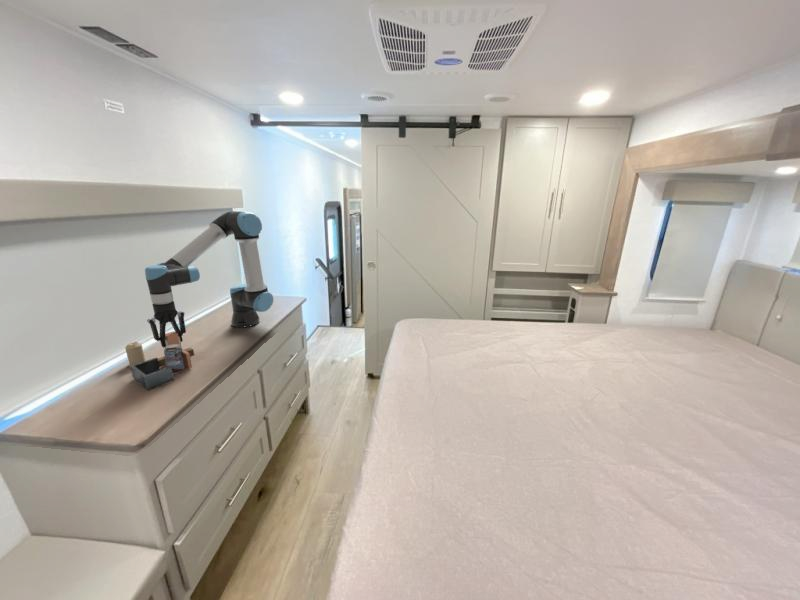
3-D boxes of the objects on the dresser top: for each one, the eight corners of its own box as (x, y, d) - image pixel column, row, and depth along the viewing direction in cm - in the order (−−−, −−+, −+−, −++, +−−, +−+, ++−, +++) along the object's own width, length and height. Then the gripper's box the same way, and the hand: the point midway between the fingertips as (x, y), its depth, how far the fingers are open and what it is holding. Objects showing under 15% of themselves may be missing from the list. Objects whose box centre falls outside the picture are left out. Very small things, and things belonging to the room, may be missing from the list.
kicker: (178, 356, 144) (173, 331, 140) (195, 366, 136) (190, 340, 132) (168, 359, 141) (163, 334, 137) (185, 370, 132) (180, 343, 129)
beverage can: (164, 377, 128) (158, 350, 124) (171, 368, 134) (165, 343, 131) (182, 374, 130) (176, 349, 126) (188, 366, 136) (182, 341, 133)
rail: (191, 353, 148) (190, 347, 147) (194, 355, 146) (193, 349, 145) (151, 367, 135) (149, 360, 134) (154, 369, 133) (152, 363, 133)
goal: (159, 369, 133) (156, 357, 131) (174, 380, 126) (171, 367, 124) (133, 379, 126) (129, 366, 124) (147, 390, 119) (144, 377, 117)
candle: (144, 359, 142) (138, 339, 139) (147, 363, 138) (142, 342, 135) (128, 363, 137) (122, 343, 134) (131, 367, 134) (126, 346, 131)
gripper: (181, 295, 142) (190, 342, 149) (135, 305, 128) (147, 355, 135) (189, 298, 138) (198, 346, 145) (142, 308, 124) (155, 360, 131)
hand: (174, 350), depth 140 cm, fingers closed on kicker, 4 cm apart
